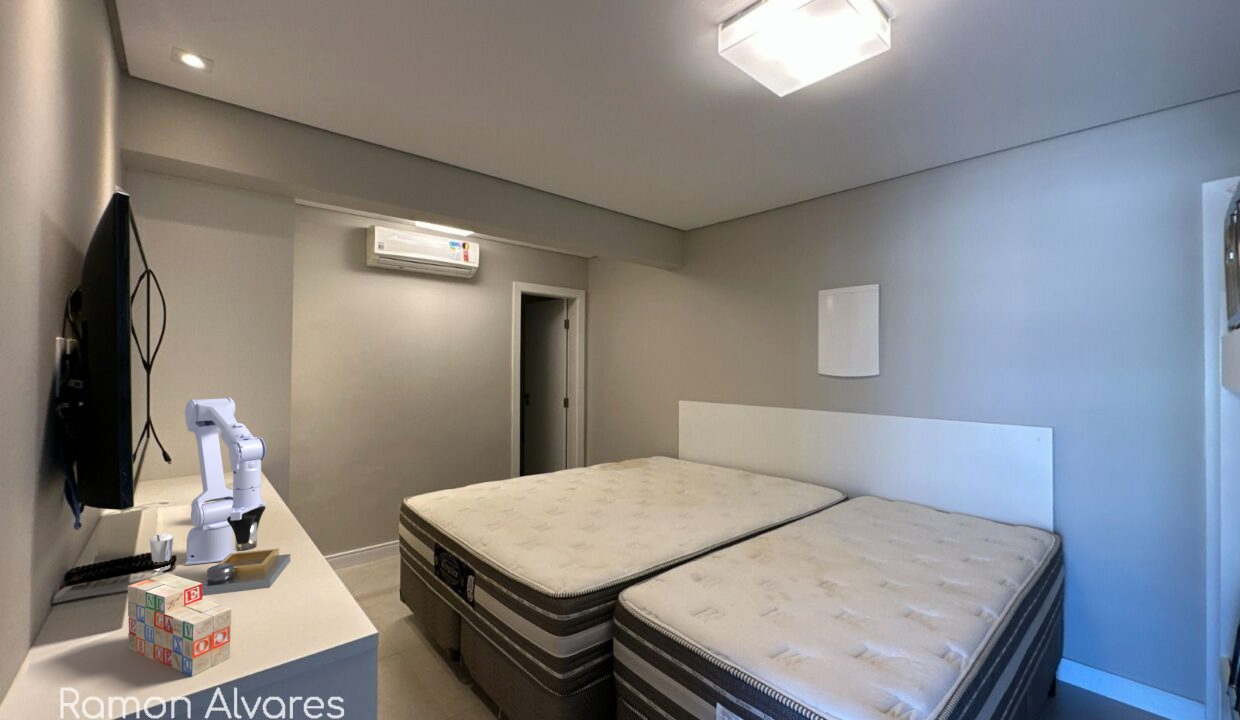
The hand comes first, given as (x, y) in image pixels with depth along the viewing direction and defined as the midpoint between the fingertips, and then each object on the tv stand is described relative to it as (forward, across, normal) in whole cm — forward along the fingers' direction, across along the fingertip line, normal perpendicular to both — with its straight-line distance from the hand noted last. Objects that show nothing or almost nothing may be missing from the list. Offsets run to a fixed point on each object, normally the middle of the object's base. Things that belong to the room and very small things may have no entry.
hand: (246, 539), depth 126 cm
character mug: (+9, +48, +20) cm, 53 cm away
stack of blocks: (+9, -36, -1) cm, 37 cm away
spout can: (+2, 0, 0) cm, 2 cm away
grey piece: (+9, -2, -1) cm, 9 cm away
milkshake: (+9, +10, +22) cm, 26 cm away
